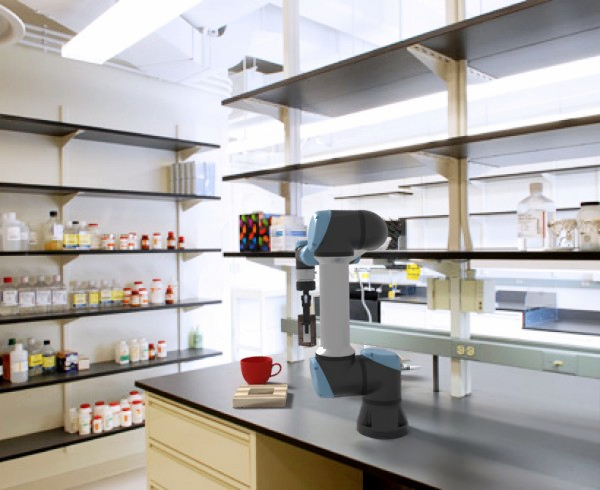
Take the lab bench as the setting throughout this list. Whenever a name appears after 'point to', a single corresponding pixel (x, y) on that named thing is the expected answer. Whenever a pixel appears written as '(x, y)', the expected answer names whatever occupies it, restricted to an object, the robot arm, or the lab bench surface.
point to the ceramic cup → (257, 369)
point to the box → (312, 331)
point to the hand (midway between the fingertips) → (307, 340)
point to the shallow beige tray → (260, 396)
